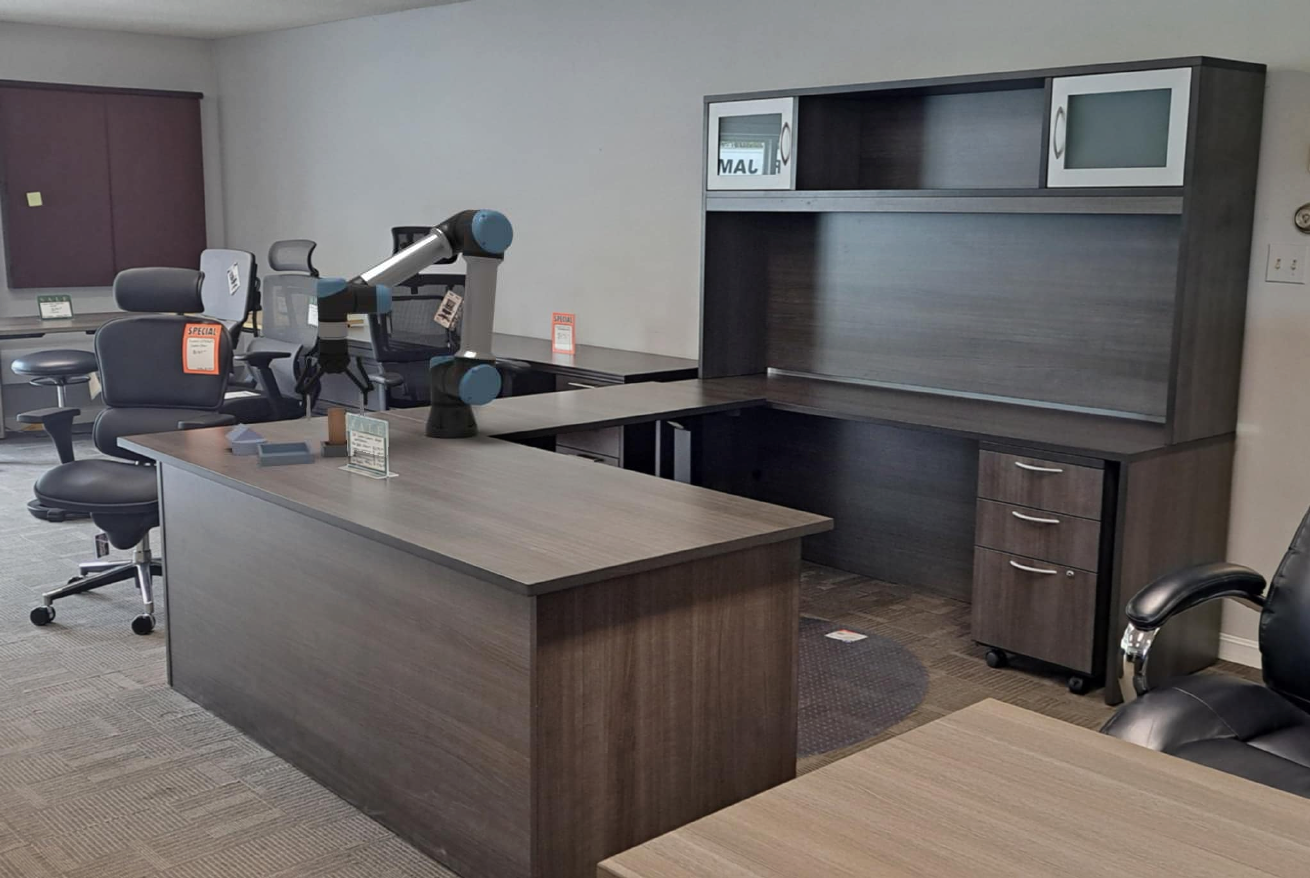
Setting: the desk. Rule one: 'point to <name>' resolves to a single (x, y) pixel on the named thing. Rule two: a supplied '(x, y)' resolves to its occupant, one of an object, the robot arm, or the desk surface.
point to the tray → (284, 454)
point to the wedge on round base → (245, 440)
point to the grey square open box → (333, 450)
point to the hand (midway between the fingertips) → (335, 418)
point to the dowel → (336, 426)
